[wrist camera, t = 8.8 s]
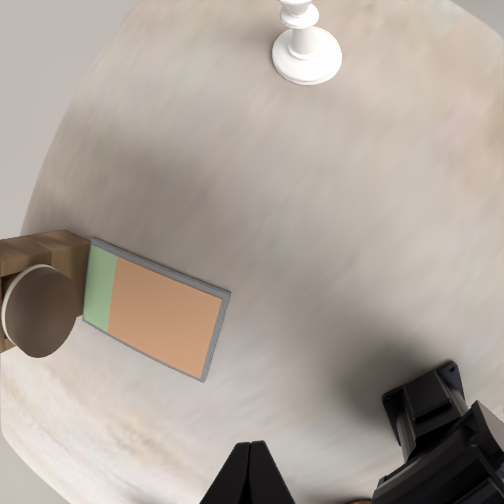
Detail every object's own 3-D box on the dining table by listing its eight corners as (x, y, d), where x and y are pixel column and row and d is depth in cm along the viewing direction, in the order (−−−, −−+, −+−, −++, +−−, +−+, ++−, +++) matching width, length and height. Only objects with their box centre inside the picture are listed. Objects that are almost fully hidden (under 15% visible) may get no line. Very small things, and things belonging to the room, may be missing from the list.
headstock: (93, 242, 25) (-23, 268, 13) (85, 313, 26) (-13, 359, 15) (64, 229, 25) (-43, 247, 14) (58, 296, 27) (-36, 332, 15)
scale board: (230, 292, 22) (227, 295, 22) (205, 379, 24) (202, 383, 23) (95, 238, 25) (89, 239, 24) (86, 318, 26) (81, 320, 25)
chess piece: (348, 82, 18) (358, -3, 9) (277, 89, 19) (238, 12, 10) (334, 26, 18) (330, -67, 8) (268, 34, 19) (229, -53, 9)
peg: (82, 265, 20) (13, 285, 14) (77, 340, 21) (19, 371, 15) (21, 231, 22) (-38, 241, 15) (18, 298, 23) (-33, 316, 17)
